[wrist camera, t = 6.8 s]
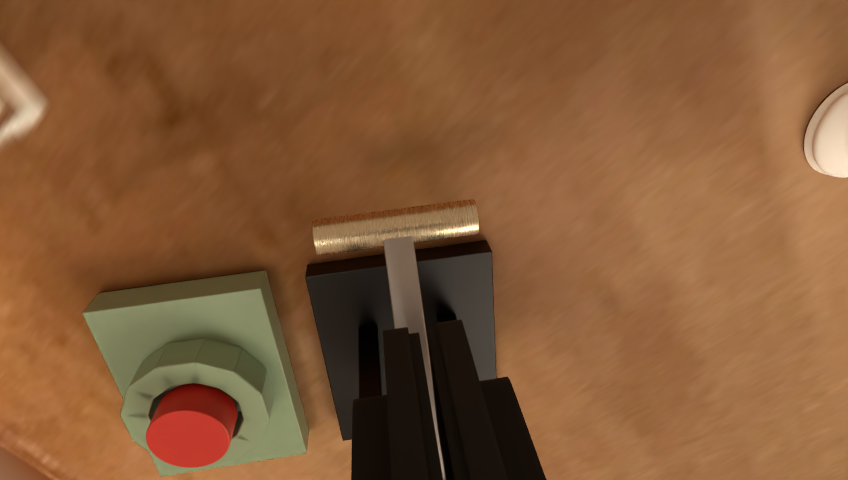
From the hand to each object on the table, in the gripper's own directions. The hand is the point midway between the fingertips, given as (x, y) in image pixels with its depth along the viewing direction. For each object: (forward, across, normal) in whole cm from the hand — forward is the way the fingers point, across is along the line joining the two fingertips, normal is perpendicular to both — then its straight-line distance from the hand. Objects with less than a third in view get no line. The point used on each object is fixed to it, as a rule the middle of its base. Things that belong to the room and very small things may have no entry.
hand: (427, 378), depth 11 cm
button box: (+14, +11, +10) cm, 20 cm away
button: (+11, +11, +10) cm, 18 cm away
